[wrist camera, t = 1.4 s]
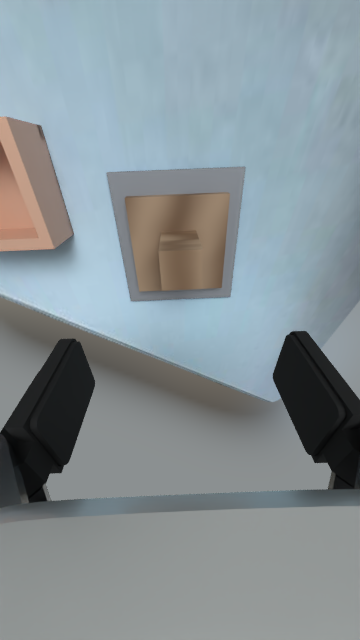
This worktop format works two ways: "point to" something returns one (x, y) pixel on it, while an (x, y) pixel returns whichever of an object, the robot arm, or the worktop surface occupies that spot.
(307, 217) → the worktop surface
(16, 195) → the dish
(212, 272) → the lid
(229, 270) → the mat
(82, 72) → the worktop surface
